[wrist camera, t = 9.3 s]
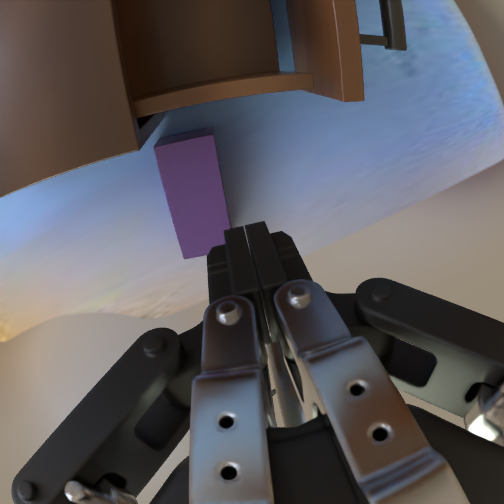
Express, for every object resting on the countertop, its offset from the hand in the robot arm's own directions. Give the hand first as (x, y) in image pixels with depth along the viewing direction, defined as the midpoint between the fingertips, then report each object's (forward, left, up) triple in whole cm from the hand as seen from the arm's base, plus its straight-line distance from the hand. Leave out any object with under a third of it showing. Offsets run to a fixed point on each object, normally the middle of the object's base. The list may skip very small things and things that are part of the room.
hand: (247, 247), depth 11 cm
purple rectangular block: (-2, +2, -13) cm, 13 cm away
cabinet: (+11, +11, -13) cm, 20 cm away
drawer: (+11, -2, -12) cm, 16 cm away
